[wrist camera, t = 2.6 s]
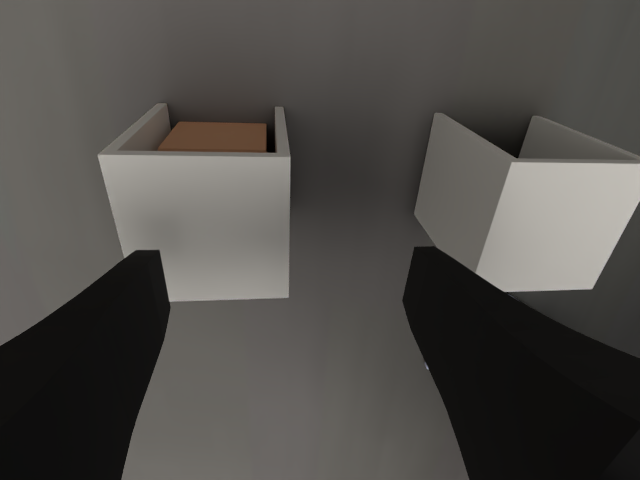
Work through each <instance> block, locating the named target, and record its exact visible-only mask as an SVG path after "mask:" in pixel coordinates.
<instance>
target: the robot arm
mask: <svg viewBox="0 0 640 480" xmlns="http://www.w3.org/2000/svg"><path fill="white" fill-rule="evenodd" d="M402 301H403V304H404V308H405V311H406V315H407V318H408V322H409V325H410V328H411V331H412V333H413V335H414V338H415V340H416V342H417V344H418V347H419V349H420V351H421V353H422V355H423V358H424V360H425V366H426V368H427V369H428V370H429V371H430V373H431V375H432V377H433V379H434V382H435V384H436V386H437V388H438V390H439V392H440V395H441V397H442V399H443V402H444V404H445V407H446V409H447V412H448V415H449V418H450V421H451V424H452V427H453V430H454V433H455V435H456V438H457V441H458V444H459V447H460V451H461V454H462V457H463V460H464V464H465V467H466V470H467V473H468V476H469V480H640V358H637V357H635V356H632V355H630V354H627V353H625V352H622V351H620V350H617V349H615V348H612V347H610V346H608V345H606V344H603V343H601V342H599V341H596V340H594V339H592V338H590V337H587V336H585V335H583V334H581V333H579V332H576V331H574V330H572V329H570V328H568V327H566V326H564V325H562V324H560V323H558V322H556V321H554V320H552V319H550V318H549V317H547V316H545V315H543V314H541V313H539V312H537V311H535V310H534V309H532V308H530V307H528V306H527V305H525V304H523V303H522V302H520V301H519V300H517V299H516V298H514V297H513V296H511V295H509V294H507V293H505V292H503V291H502V290H500V289H499V288H497V287H495V286H494V285H492V284H491V283H489V282H488V281H486V280H485V279H483V278H482V277H480V276H479V275H477V274H476V273H474V272H473V271H471V270H470V269H468V268H467V267H466V266H464V265H463V264H461V263H460V262H458V261H457V260H455V259H454V258H452V257H451V256H449V255H448V254H446V253H445V252H443V251H441V250H440V249H438V248H436V247H434V246H433V247H414V251H413V256H412V260H411V265H410V269H409V273H408V278H407V282H406V287H405V291H404V296H403V300H402ZM169 313H170V302H169V297H168V292H167V286H166V281H165V276H164V270H163V265H162V260H161V255H160V250H135V251H134V252H132V253H131V254H130V255H128V256H127V257H126V258H124V259H123V260H122V261H121V262H119V263H118V264H117V265H116V266H114V267H113V268H112V269H111V270H109V271H108V272H107V273H106V274H104V275H103V276H102V277H100V278H99V279H98V280H97V281H95V282H94V283H93V284H91V285H90V286H89V287H87V288H86V289H85V290H84V291H82V292H81V293H80V294H78V295H77V296H76V297H74V298H73V299H71V300H70V301H68V302H67V303H66V304H64V305H63V306H61V307H60V308H59V309H57V310H56V311H54V312H53V313H52V314H50V315H49V316H47V317H46V318H44V319H43V320H42V321H40V322H38V323H37V324H35V325H34V326H32V327H31V328H29V329H28V330H26V331H24V332H23V333H21V334H20V335H18V336H16V337H15V338H13V339H11V340H10V341H8V342H6V343H5V344H3V345H1V346H0V480H121V478H122V473H123V469H124V465H125V461H126V456H127V452H128V448H129V444H130V440H131V436H132V432H133V429H134V426H135V422H136V419H137V416H138V413H139V410H140V407H141V404H142V402H143V399H144V396H145V393H146V390H147V387H148V385H149V382H150V379H151V376H152V373H153V370H154V368H155V365H156V362H157V359H158V356H159V353H160V350H161V347H162V344H163V341H164V337H165V333H166V328H167V323H168V318H169Z"/></svg>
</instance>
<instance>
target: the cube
mask: <svg viewBox="0 0 640 480" xmlns="http://www.w3.org/2000/svg"><path fill="white" fill-rule="evenodd" d="M158 151H185V152H253V153H267V131H266V124H264V123H220V122H178V123H177V124H176V126H175V127H174V128H173V129H172V131H171V132H170V133H169V134H168V136H167V137H166V138H165V140H164V141H163V142H162V143H161V145H160V146H159V147H158Z"/></svg>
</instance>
